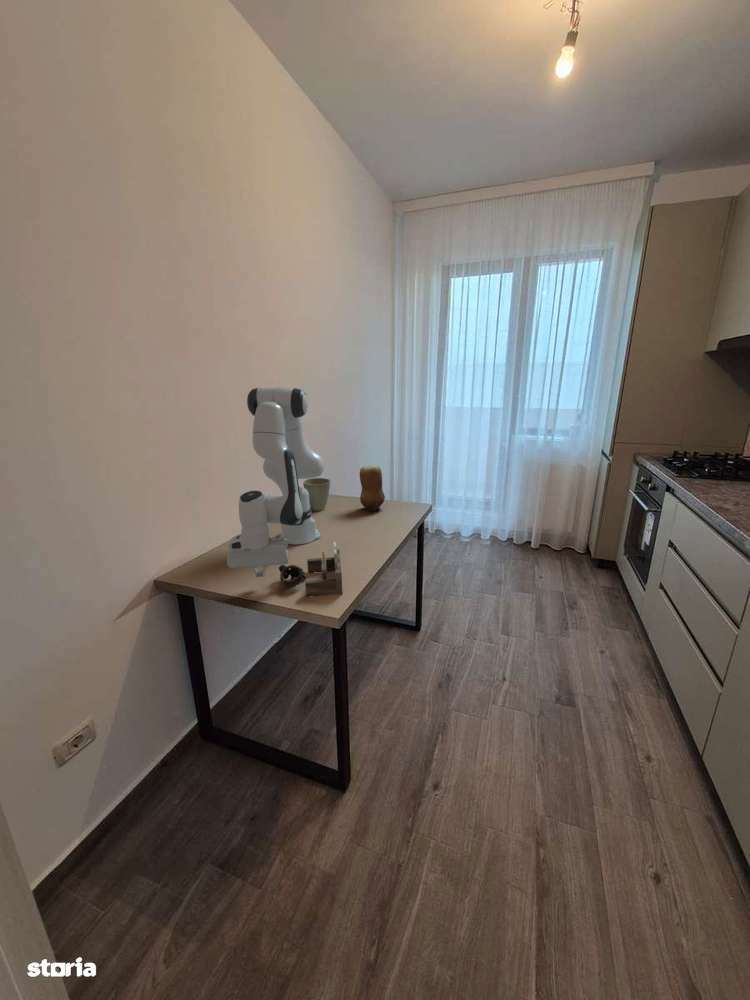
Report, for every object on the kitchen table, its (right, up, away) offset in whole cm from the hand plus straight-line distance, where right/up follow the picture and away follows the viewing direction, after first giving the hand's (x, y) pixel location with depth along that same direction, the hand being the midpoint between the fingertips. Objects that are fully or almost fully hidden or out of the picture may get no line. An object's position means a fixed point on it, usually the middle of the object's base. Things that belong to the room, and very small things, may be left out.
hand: (260, 576), depth 139 cm
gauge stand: (+23, -3, +4) cm, 23 cm away
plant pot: (+8, +21, +85) cm, 88 cm away
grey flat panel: (+23, -3, +4) cm, 23 cm away
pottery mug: (+10, -3, +3) cm, 11 cm away
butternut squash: (+39, +21, +81) cm, 92 cm away
